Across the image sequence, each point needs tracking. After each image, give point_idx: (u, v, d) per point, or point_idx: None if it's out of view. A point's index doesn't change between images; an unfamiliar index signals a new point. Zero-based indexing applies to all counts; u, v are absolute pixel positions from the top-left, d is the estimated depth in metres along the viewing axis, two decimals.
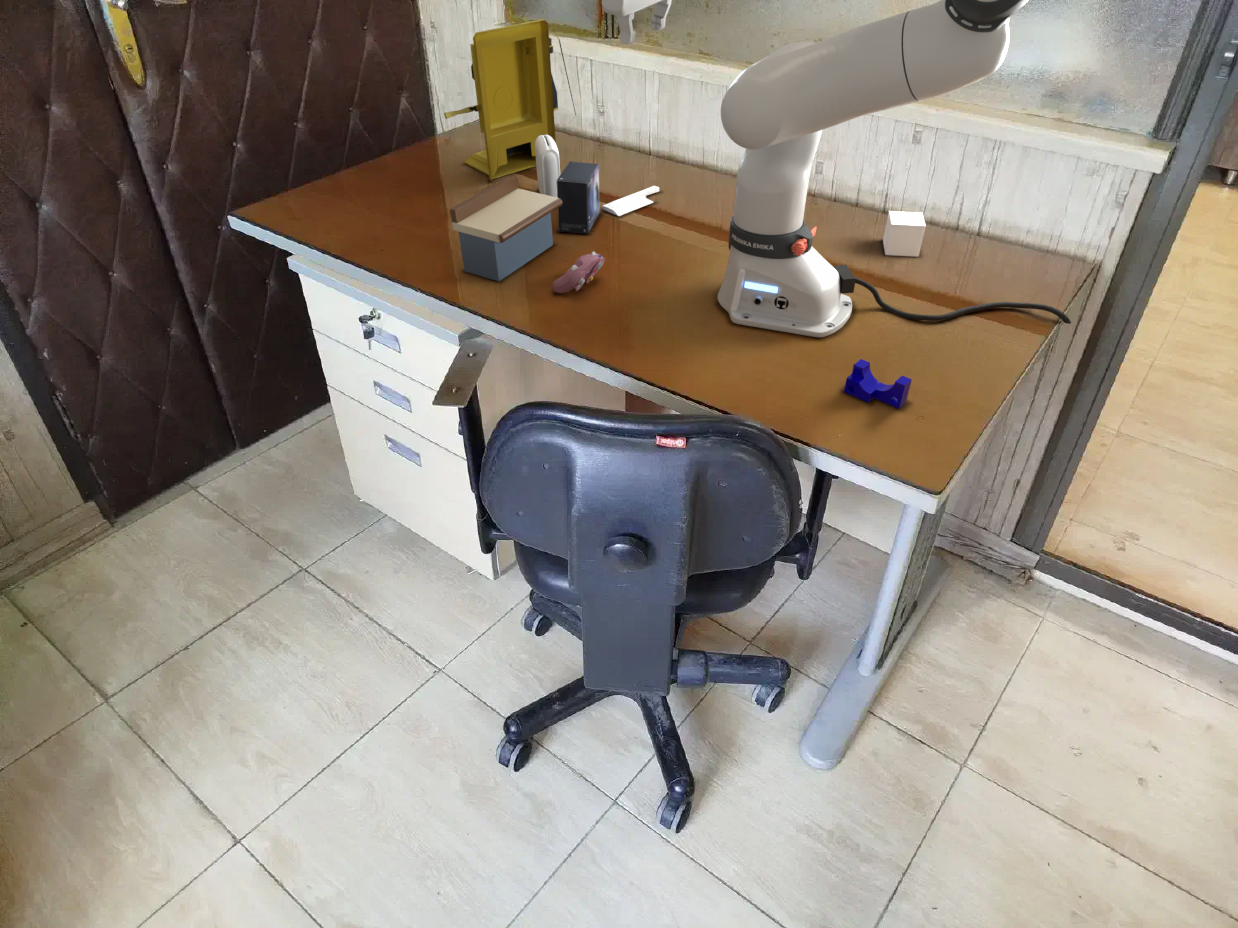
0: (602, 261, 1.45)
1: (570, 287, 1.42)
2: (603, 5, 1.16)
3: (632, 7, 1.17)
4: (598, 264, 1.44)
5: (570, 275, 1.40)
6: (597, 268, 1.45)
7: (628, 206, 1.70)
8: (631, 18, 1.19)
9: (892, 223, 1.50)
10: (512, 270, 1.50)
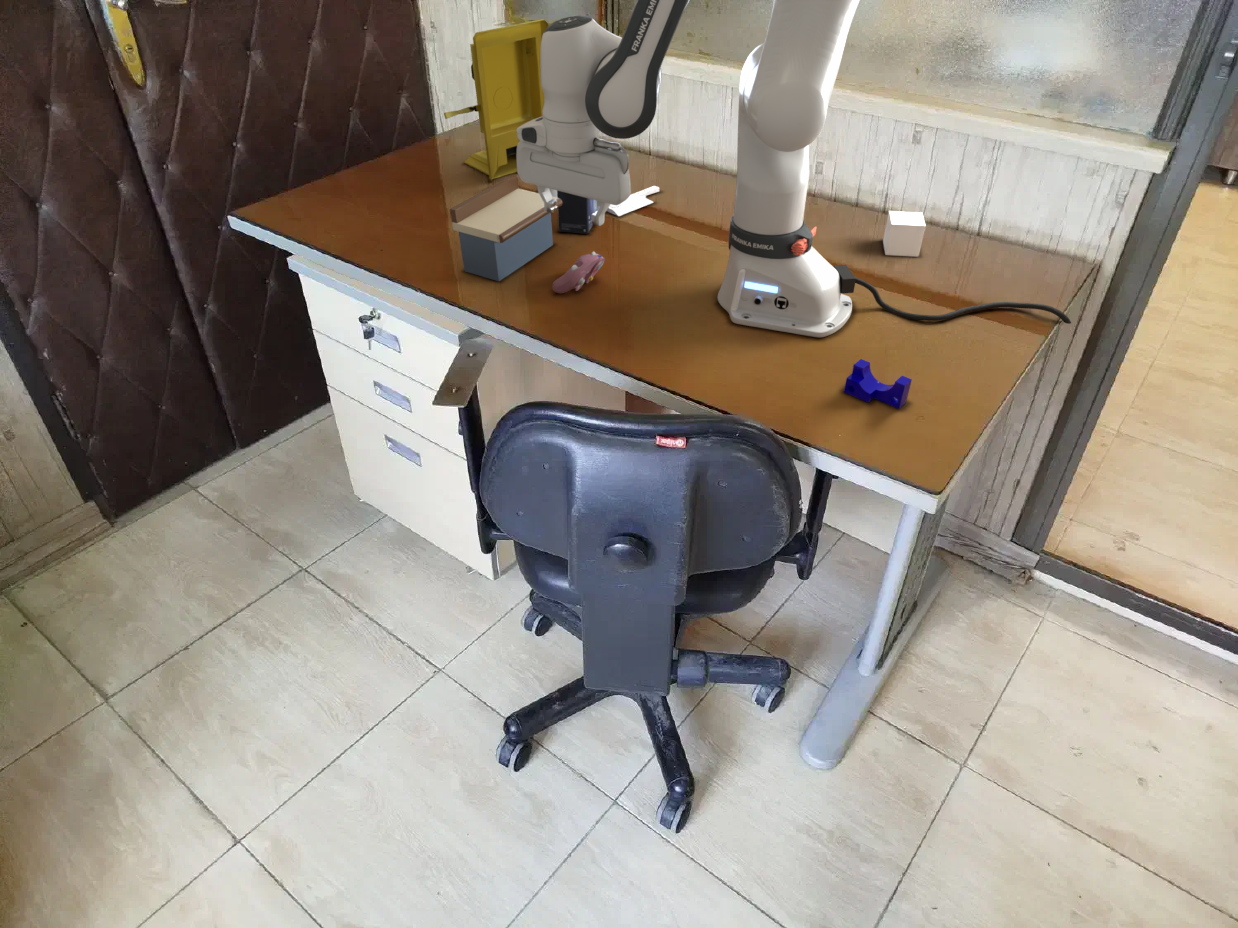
0: (602, 261, 1.45)
1: (570, 287, 1.42)
2: (621, 199, 1.30)
3: None
4: (598, 264, 1.44)
5: (571, 275, 1.40)
6: (597, 268, 1.45)
7: (628, 206, 1.70)
8: None
9: (892, 223, 1.50)
10: (512, 270, 1.50)
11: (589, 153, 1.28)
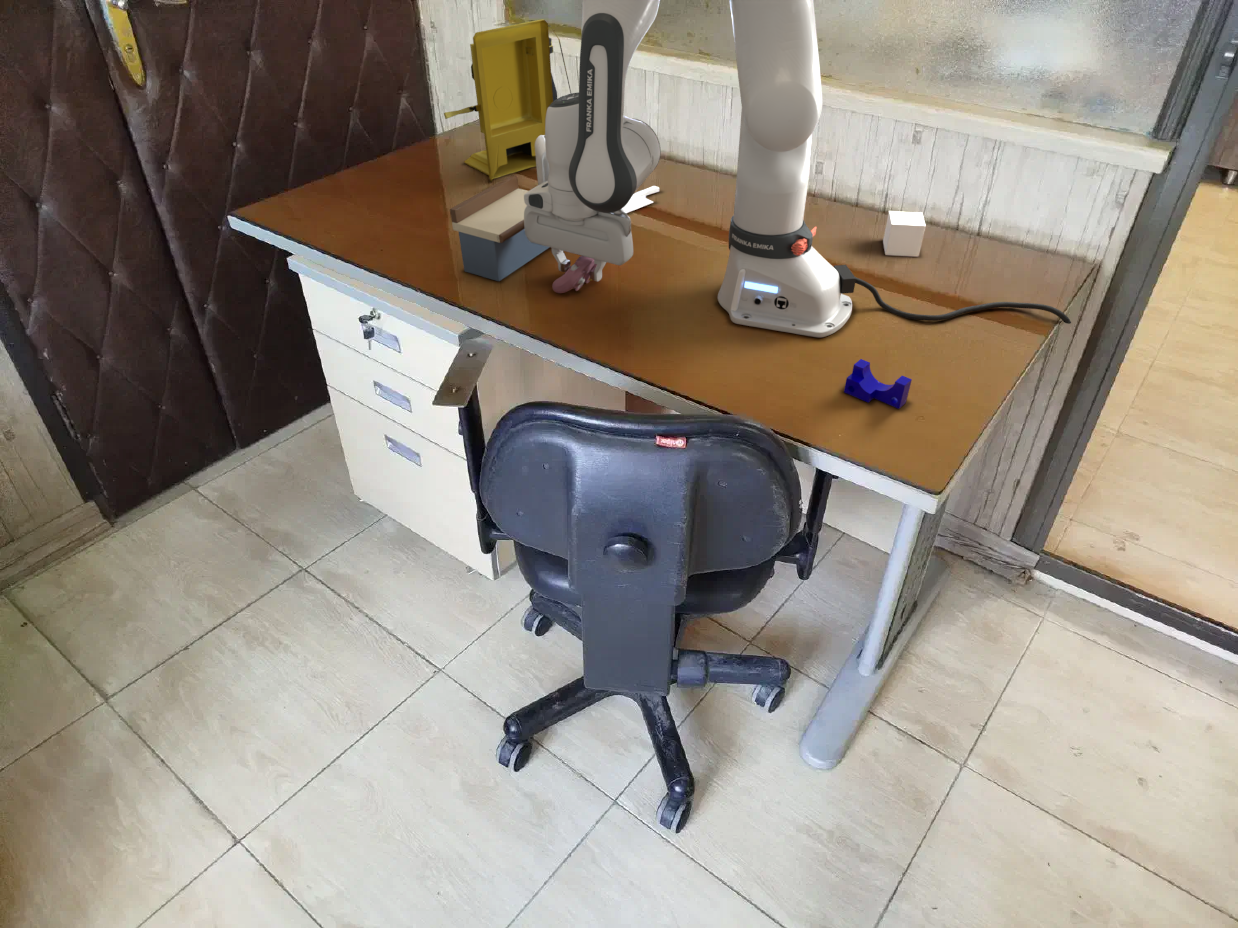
0: None
1: (570, 287, 1.42)
2: (624, 260, 1.36)
3: None
4: None
5: (570, 274, 1.40)
6: None
7: (628, 206, 1.70)
8: None
9: (892, 223, 1.50)
10: (512, 270, 1.50)
11: (593, 217, 1.34)
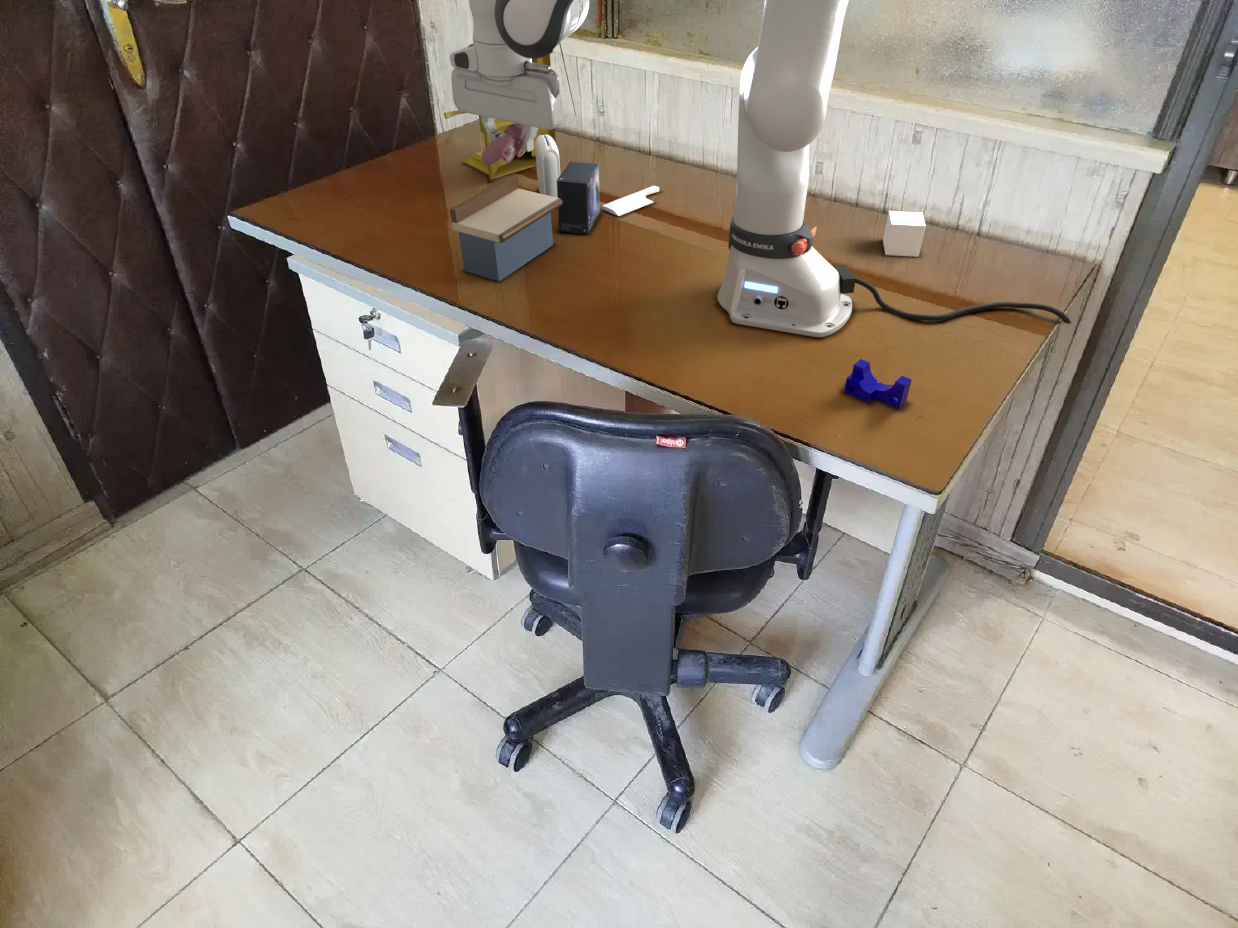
0: None
1: (499, 156, 1.36)
2: (553, 123, 1.30)
3: None
4: None
5: (499, 142, 1.34)
6: None
7: (628, 206, 1.70)
8: None
9: (892, 223, 1.50)
10: (512, 270, 1.50)
11: (520, 76, 1.29)
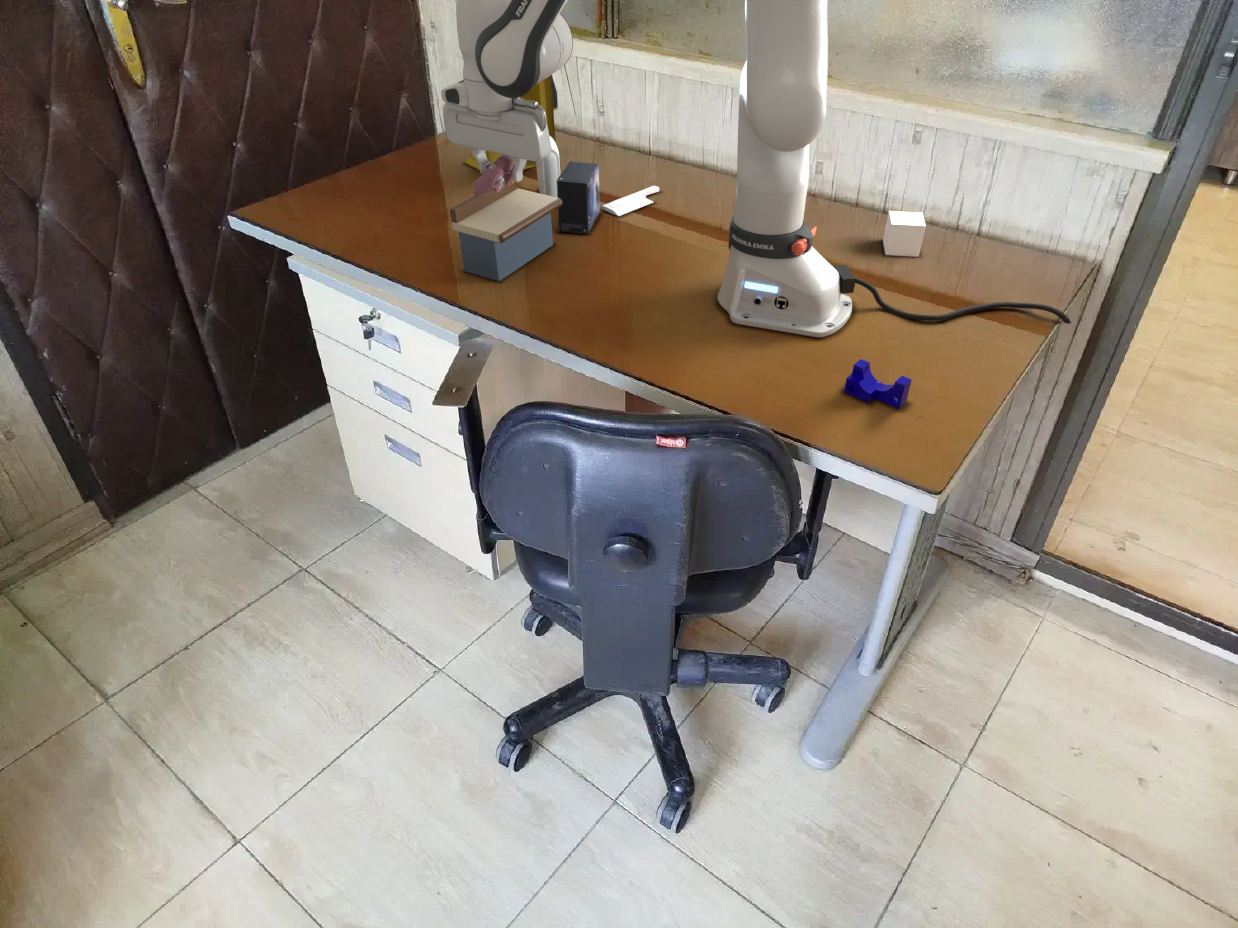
0: None
1: (489, 186, 1.41)
2: (541, 156, 1.36)
3: None
4: None
5: (489, 173, 1.40)
6: None
7: (628, 206, 1.70)
8: None
9: (892, 223, 1.50)
10: (512, 270, 1.50)
11: (508, 111, 1.34)
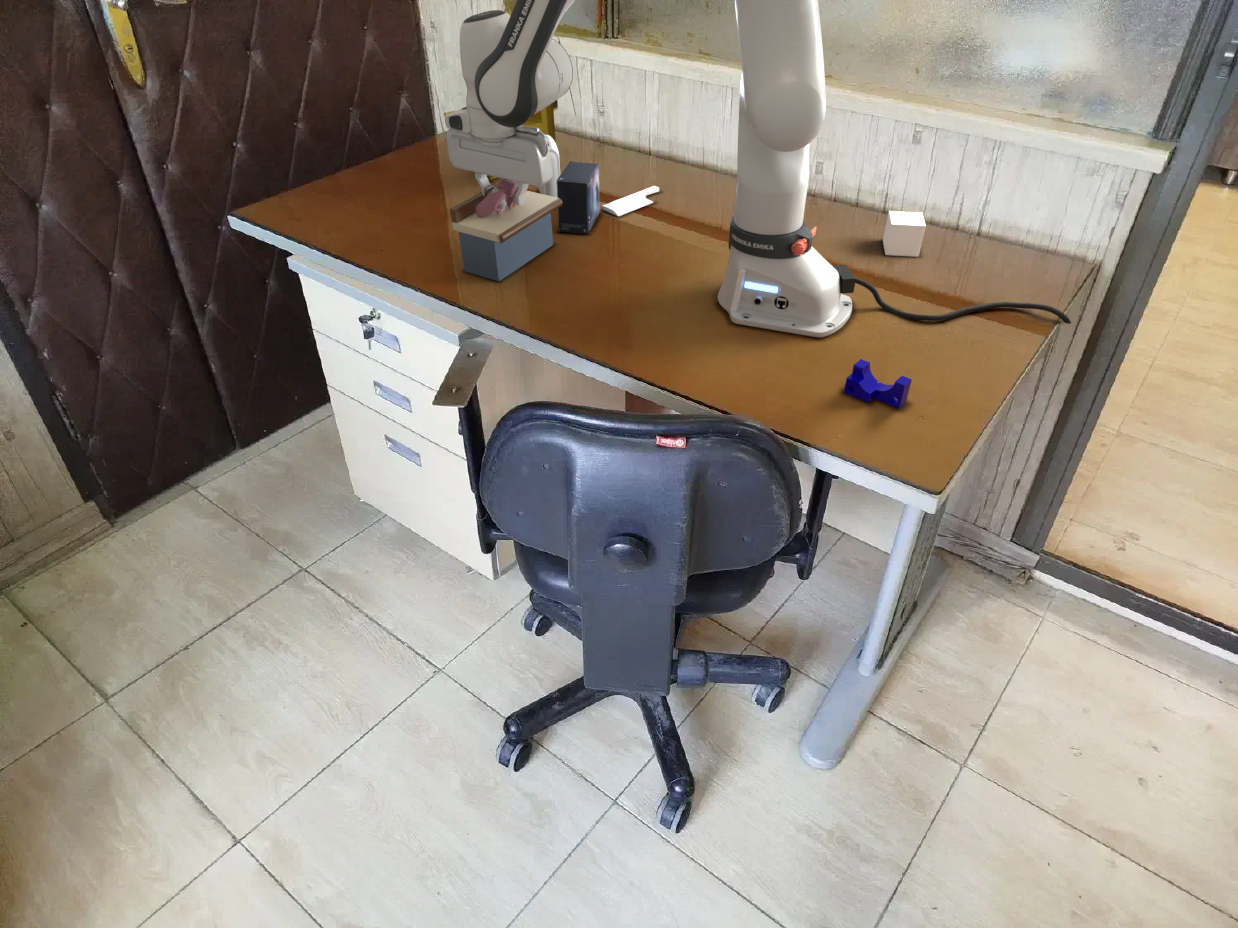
0: None
1: (492, 210, 1.44)
2: (543, 181, 1.38)
3: None
4: None
5: (492, 197, 1.42)
6: None
7: (628, 206, 1.70)
8: None
9: (892, 223, 1.50)
10: (512, 270, 1.50)
11: (511, 138, 1.37)
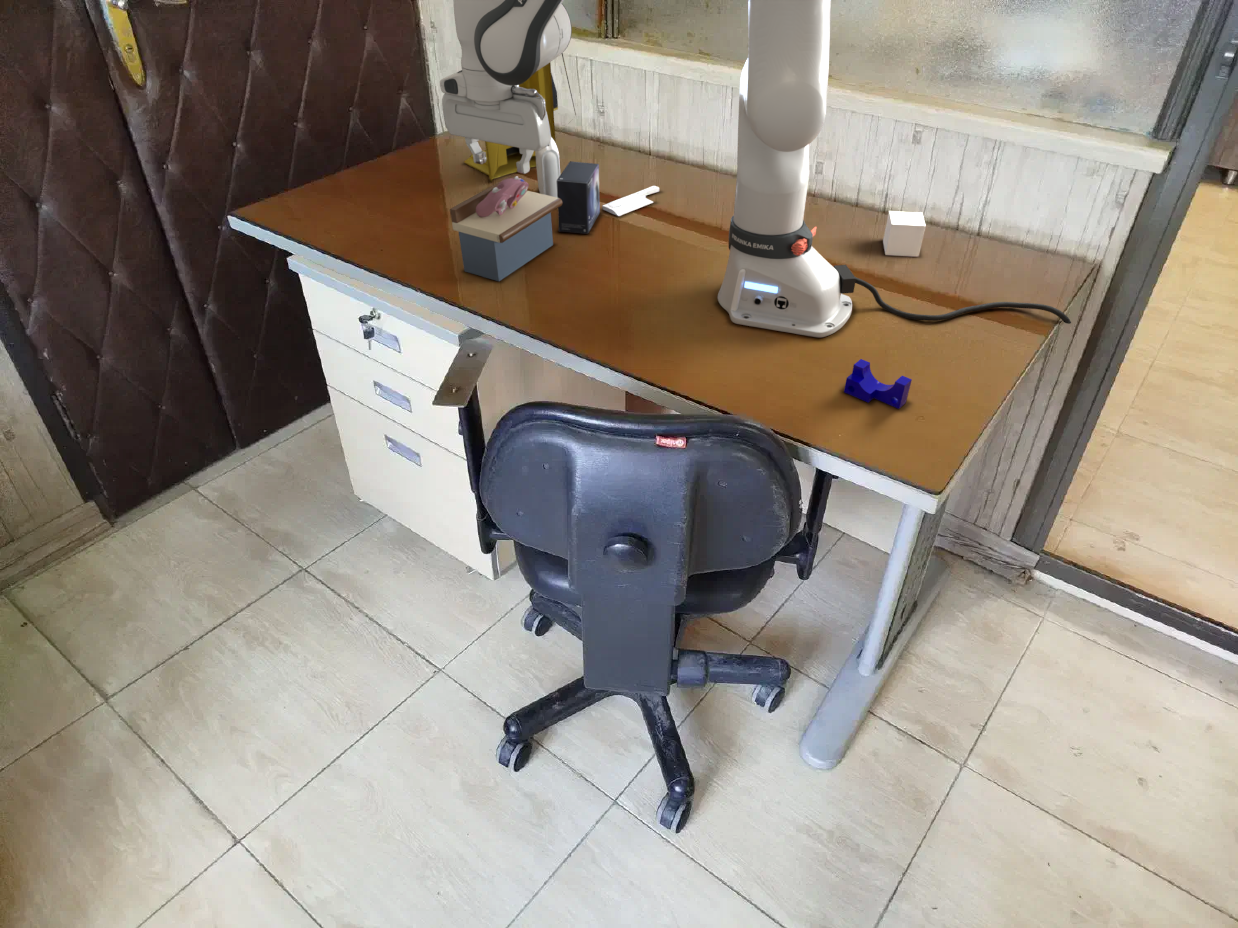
0: (525, 186, 1.47)
1: (492, 210, 1.44)
2: (541, 145, 1.35)
3: None
4: (521, 189, 1.46)
5: (492, 197, 1.42)
6: (520, 193, 1.47)
7: (628, 206, 1.70)
8: None
9: (892, 223, 1.50)
10: (512, 270, 1.50)
11: (507, 100, 1.33)
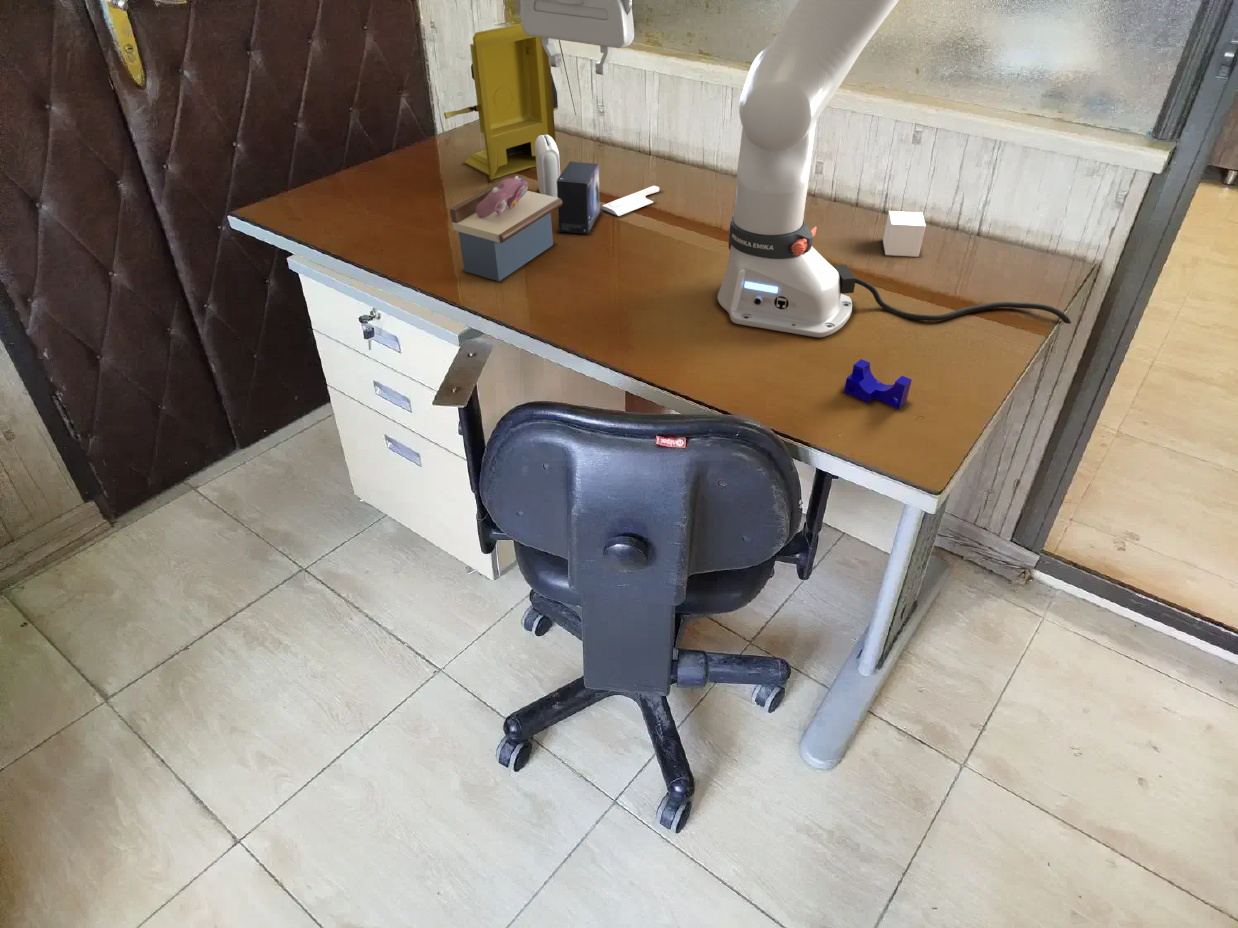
0: (525, 186, 1.47)
1: (492, 210, 1.44)
2: (624, 41, 1.31)
3: None
4: (521, 189, 1.46)
5: (492, 197, 1.42)
6: (520, 193, 1.47)
7: (628, 206, 1.70)
8: None
9: (892, 223, 1.50)
10: (512, 270, 1.50)
11: None
